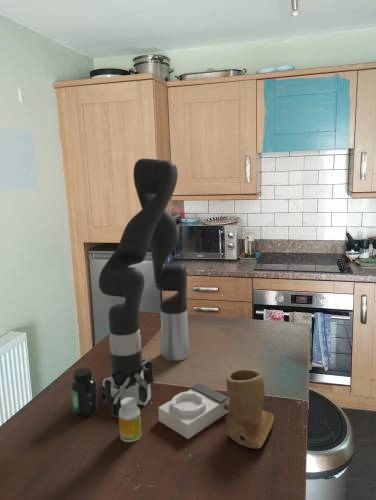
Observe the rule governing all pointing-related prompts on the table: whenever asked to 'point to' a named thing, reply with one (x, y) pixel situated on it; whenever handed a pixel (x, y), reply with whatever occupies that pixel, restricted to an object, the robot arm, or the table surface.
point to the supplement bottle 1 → (84, 393)
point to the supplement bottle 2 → (129, 420)
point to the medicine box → (136, 392)
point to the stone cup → (248, 408)
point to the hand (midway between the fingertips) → (129, 408)
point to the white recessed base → (193, 410)
